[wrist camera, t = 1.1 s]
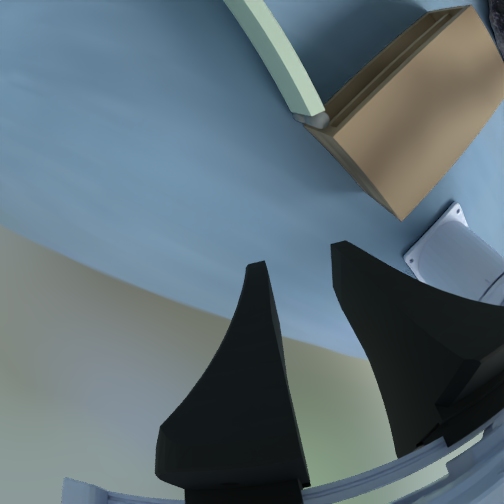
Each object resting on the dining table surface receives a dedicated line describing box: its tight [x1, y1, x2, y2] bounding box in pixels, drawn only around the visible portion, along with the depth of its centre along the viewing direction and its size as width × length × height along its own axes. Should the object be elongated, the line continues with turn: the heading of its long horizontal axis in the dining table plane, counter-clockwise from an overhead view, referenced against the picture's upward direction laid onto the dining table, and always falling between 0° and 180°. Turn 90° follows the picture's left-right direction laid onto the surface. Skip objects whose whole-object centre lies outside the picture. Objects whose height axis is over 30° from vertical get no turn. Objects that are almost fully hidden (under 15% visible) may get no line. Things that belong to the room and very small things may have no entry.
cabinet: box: [303, 5, 504, 222], centre depth 13 cm, size 7×16×5 cm, turn 138°
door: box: [223, 0, 330, 129], centre depth 10 cm, size 2×16×4 cm, turn 28°
